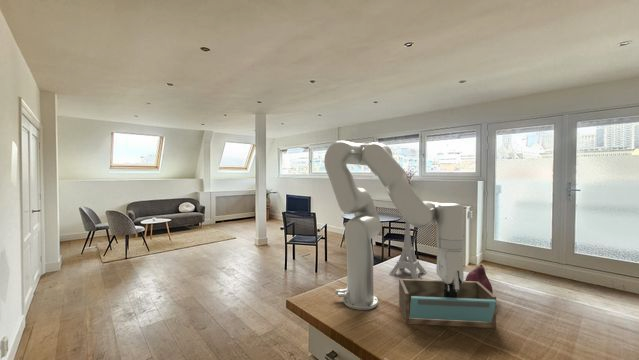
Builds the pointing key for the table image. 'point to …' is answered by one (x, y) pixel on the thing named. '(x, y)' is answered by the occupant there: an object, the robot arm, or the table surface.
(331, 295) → the table surface
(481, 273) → the vegetable
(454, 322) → the tray
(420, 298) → the panel
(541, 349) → the table surface
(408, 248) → the eiffel tower
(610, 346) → the table surface
